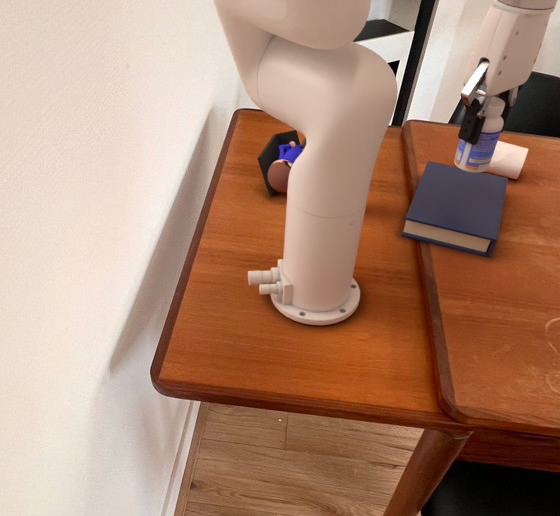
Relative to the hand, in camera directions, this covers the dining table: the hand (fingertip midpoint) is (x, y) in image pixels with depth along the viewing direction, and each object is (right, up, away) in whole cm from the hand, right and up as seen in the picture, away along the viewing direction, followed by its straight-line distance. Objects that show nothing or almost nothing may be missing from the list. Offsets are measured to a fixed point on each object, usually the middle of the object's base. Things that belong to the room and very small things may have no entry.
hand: (480, 134), depth 80 cm
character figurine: (-29, -2, +15) cm, 33 cm away
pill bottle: (0, -3, +4) cm, 5 cm away
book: (-1, -9, +10) cm, 14 cm away
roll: (+9, +3, +21) cm, 23 cm away
